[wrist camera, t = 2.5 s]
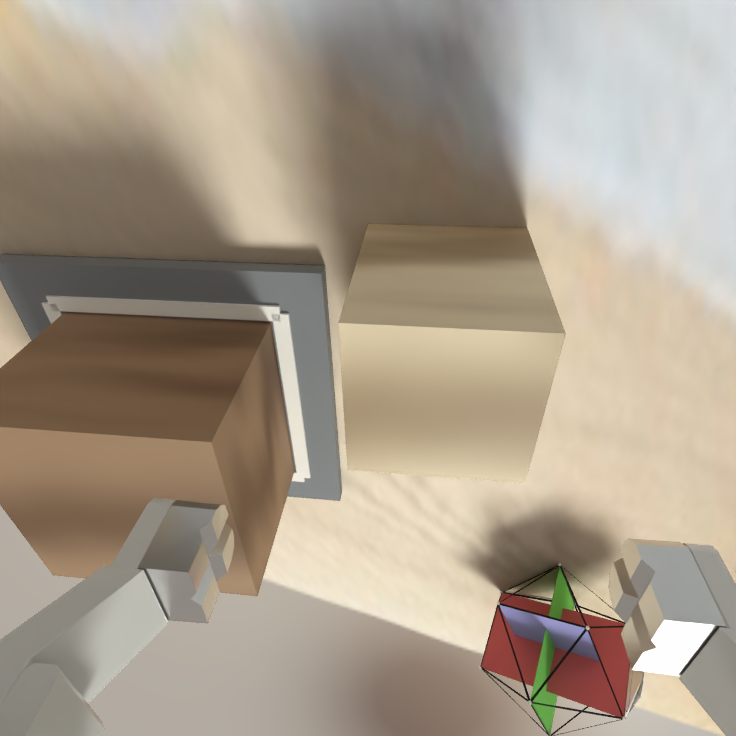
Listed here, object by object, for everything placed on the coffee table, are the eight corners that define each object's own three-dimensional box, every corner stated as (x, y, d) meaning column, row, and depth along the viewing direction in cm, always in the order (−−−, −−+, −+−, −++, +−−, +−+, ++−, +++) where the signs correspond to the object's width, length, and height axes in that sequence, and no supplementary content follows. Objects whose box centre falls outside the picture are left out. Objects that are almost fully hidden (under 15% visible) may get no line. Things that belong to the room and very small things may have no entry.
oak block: (368, 223, 16) (338, 323, 11) (527, 227, 15) (565, 333, 11) (370, 349, 19) (347, 469, 14) (503, 356, 19) (525, 483, 14)
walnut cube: (64, 312, 19) (-62, 422, 14) (271, 322, 18) (211, 442, 13) (130, 457, 24) (52, 575, 19) (294, 469, 23) (257, 596, 18)
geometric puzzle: (471, 662, 29) (581, 805, 23) (432, 603, 26) (549, 754, 19) (558, 581, 31) (684, 693, 24) (532, 515, 27) (673, 626, 21)
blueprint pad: (2, 254, 18) (-12, 262, 18) (325, 265, 17) (321, 275, 16) (111, 471, 25) (104, 482, 25) (342, 490, 24) (339, 502, 24)
